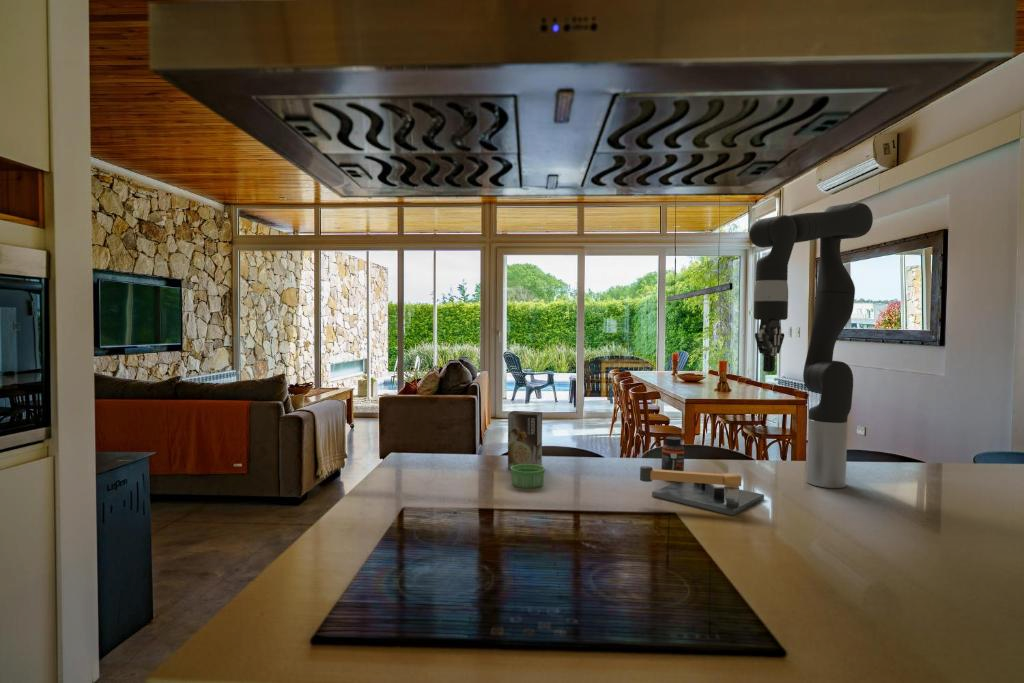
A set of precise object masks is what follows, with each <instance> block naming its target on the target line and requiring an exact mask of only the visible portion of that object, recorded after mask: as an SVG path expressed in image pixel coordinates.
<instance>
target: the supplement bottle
mask: <svg viewBox="0 0 1024 683" xmlns="http://www.w3.org/2000/svg"><path fill="white" fill-rule="evenodd" d="M660 470H673V471H685V447H684V446H683V444H682V438H681V437H678V436H677V437H676V436H666V437H665V444H663V445H662V448H661V468H660Z"/></svg>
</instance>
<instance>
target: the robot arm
mask: <svg viewBox="0 0 1024 683" xmlns="http://www.w3.org/2000/svg"><path fill="white" fill-rule="evenodd" d="M873 218H874V217H873V212H872V210H871V208H870V207H869V206H868V205H867V204H866V203H863V202H849V203H843V204H837V205H836V204H835V205H831V206H828V207H827V208H826V209H825V210H823V211H821V212H820V211H819V212H804V213H795V214H791V215H787V214H782V215H776V216H771V217H764V218H760V219H757V220H756V221H755V222H753V224H751V226H750V229H749V233H748V238H749V240H750V242H751V243H752V244H753V245H754V246H756V247H757V248H771V249H770V252H769V253H768V254H767V255H765V256H762V257H760V258H758V259H757V261H756V266H755V285H754V291H753V292H754V293H753V294H754V295H753V296H754V297H753V298H754V300H753V319H754V320H756V321H757V320H759V321H760V323H759V328H758V332H755V333H754V337H755V338H754V339H755V342H756V345H757V348H758V352H759V354H761V356H763V359H762V360H763V362H762V363H763V365H762V370H763V372H766V373H774V372H775V371H776V369H775V368H776V356H777V355H778V354H780V351H781V348H782V345H783V342H784V338H785V333H783V332H782V328H781V321H786V320H788V318H789V316H788V311H789V286H788V285H789V284H788V279H789V278H788V276H789V275H788V272H789V271H788V269H789V267H788V266H789V262H790V259H791V255H792V252H793V250H794V246H795V244H797V243H798V244H799V243H802V242H809V241H814V240H815V241H816V240H817V239H818V240H819V262H818V264H819V265H818V266H819V267H818V276H817V281H816V282H817V284H816V290H815V298H814V299H815V300H814V306H813V307H814V309H813V319H812V326H811V333H810V339H809V346H808V350H807V352H806V353H807V354H806V359H805V362H804V365H803V366H804V367H803V373H802V379H803V384H804V386H805V388H806V389H807V390H809V391H810V392H811V393H815V394H820V399H819V403H818V404H817V405H815V406H813V407H810V408H809V409H808V415H807V418H808V420H807V425H808V426H807V453H806V454H807V455H806V456H807V457H806V458H807V459H806V483H808V484H810V485H813V486H816V487H821V488H827V489H842V488H845V487H846V481H847V480H846V479H847V478H846V477H847V475H846V474H847V449H848V446H847V444H848V441H847V440H848V417H849V414H850V412H851V410H852V404H853V403H852V402H853V393H854V375H853V374H854V373H853V371H852V369H851V367H850V365H848V364H847V363H846V362H843V361H840V360H833V356H834V351H835V345H836V343H837V340H838V338H839V337H840V334H841V333H842V331H843V330H844V329H845V327H846V325H847V324H848V322H849V321H850V319H851V317H852V314H853V310H854V305H855V304H854V303H855V296H856V295H855V294H856V286H855V284H854V283H855V282H854V281H853V278H852V277H851V275H850V274H849V271H848V270H847V268H846V267H845V265H844V262H843V261H842V257H841V256H842V255H841V242H842V240H848V239H856V238H861V237H863V236H865V235H867V234H868V233H869V232H870V230H871V228H872V226H873V222H874V219H873Z"/></svg>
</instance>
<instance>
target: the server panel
mask: <svg viewBox="0 0 1024 683" xmlns="http://www.w3.org/2000/svg"><path fill="white" fill-rule="evenodd" d="M651 497H653V498H658V499H660V500H661V499H662V500H666V501H670V502H675V503H679V504H683V505H687V506H691V507H695V508H700V509H703V510H708V511H712V512H715V513H721V514H724V515H728V516H734V515H736V514H738V513H740V512H742V511H744V510H746V509H748V508H749V507H752V506H754V505H756V504H757V503H759V502H762V501H763V500H765V494H763V493H760V492H759V493H758V492H754V491H749V490H744V489H740V486H739V487H731V486H726V485H718V484H705V483H691V482H678V481H676V482H675V483H671V484H669V485H667V486H663V487H661V488H657V489H655V490H652V492H651Z"/></svg>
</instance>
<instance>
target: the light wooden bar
mask: <svg viewBox="0 0 1024 683" xmlns="http://www.w3.org/2000/svg"><path fill="white" fill-rule="evenodd" d="M639 470H640V471H639V481H640V482H644V483H645V482H646V483H650V482H653V480H654V481H664V482H665V481H666V482H691V483H705V484H718V485H726V486H731V487H739V488H740V487H742V475H740V474H736V473H730V472H729V473H728V472H727V473H712V472H699V471H685V470H684V471H673V470H661V469H656V468H653V467H652V466H649V465H648V466H647V465H643V466H642V465H641V466H640V468H639Z"/></svg>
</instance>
